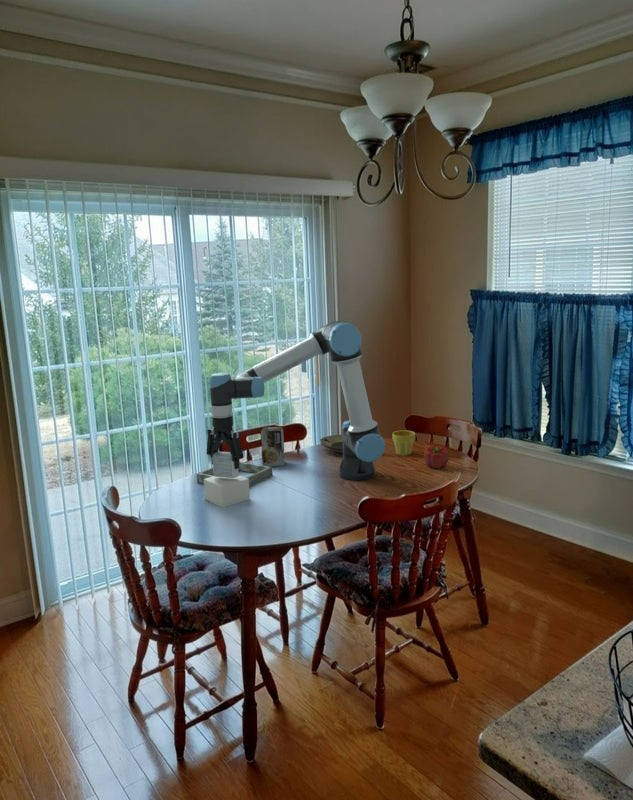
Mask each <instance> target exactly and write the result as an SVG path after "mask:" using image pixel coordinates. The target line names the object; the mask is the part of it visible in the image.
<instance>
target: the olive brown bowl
mask: <svg viewBox="0 0 633 800" xmlns="http://www.w3.org/2000/svg"><path fill="white" fill-rule="evenodd" d="M319 441H320V445H322V446H323V447H324V448H326V449H329V450H331V451H333V452H336V453H341V454H343V437H342V434H336V435H335V434H334V435H333V434H332V435H328V436H323V437H322V438H320V439H319Z"/></svg>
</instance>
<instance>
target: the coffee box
mask: <svg viewBox="0 0 633 800" xmlns="http://www.w3.org/2000/svg"><path fill="white" fill-rule="evenodd" d="M260 432H261V433H260V435H261V451H262V466H268V467H272V466H273V467H275V466H276V467H277V466H279V467H281V466H282V467H283V466H284V464H285V463H286V461H285V459H286V458H285V441H284V440H285V439H284V427H283V426H279V427H278V426H274V427H273V426H272V427H271V426H270V427H267V426H266V427H263V428H262V429H261V431H260Z"/></svg>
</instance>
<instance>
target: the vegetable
mask: <svg viewBox="0 0 633 800" xmlns="http://www.w3.org/2000/svg"><path fill="white" fill-rule="evenodd" d="M423 458H424V462H425V464H426V466H427V467H428V468H433V469H435V468H438V469H440V468H445V467H446V466H447V465H448V462H449V459H450V453H449V450H448V449H447V447H445V446H440V445H435V444H433V445H431V446H429V447H426V448H425V449H424V451H423ZM444 466H445V467H444Z"/></svg>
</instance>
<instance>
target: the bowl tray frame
mask: <svg viewBox="0 0 633 800" xmlns="http://www.w3.org/2000/svg"><path fill="white" fill-rule="evenodd" d="M238 471H241V472H246V473H247V472H248V473H252V474H251V475H248V476H246V477H245V478H248V479H249V487H251V486H253V485H255V484H257V483H259V482H261V481H263V480H265V479H267V478H268V479H269V478H270V477H272V476H273V467H272V466H263V464H255V463H250V462H246V461H245V462H244V461H240V460H239V468H238ZM210 477H214V474H213V466H212V467H209V468H208V469H204V470H202V471H200V472H196V482H197V483H201V484H204V479H206V478H210Z"/></svg>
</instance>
